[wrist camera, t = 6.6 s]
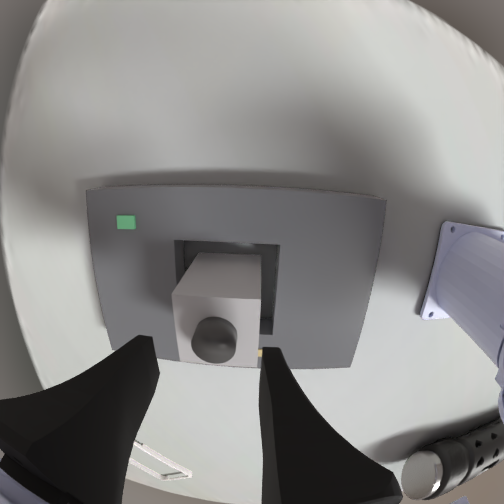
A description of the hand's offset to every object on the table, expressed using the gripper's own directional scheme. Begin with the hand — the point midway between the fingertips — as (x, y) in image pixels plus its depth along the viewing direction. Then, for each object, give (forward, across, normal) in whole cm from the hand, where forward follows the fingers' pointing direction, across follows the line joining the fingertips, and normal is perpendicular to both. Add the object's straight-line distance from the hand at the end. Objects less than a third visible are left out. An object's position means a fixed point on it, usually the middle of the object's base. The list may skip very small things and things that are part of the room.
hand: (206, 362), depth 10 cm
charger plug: (+8, 0, 0) cm, 9 cm away
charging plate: (+8, 0, 0) cm, 8 cm away
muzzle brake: (+9, -39, +29) cm, 49 cm away
